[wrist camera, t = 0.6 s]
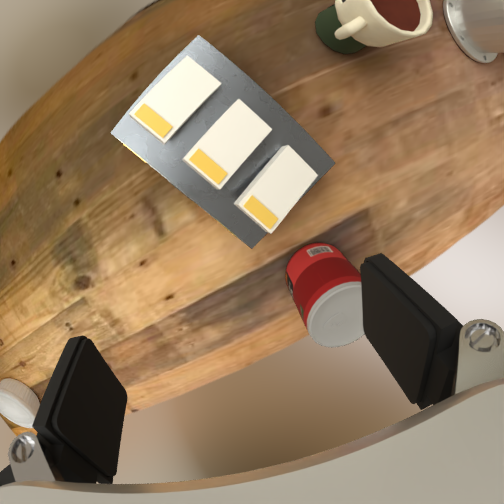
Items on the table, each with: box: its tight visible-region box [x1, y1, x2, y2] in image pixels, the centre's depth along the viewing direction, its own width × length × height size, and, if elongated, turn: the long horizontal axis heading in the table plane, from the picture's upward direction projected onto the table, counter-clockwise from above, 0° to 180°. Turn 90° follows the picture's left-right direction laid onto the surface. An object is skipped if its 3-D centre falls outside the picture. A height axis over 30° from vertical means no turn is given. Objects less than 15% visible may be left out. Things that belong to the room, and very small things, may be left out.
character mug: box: [315, 0, 433, 54], centre depth 21 cm, size 11×7×13 cm, turn 133°
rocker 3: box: [234, 145, 318, 234], centre depth 27 cm, size 7×4×2 cm, turn 136°
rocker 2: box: [182, 99, 272, 189], centre depth 25 cm, size 7×4×2 cm, turn 136°
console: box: [111, 35, 335, 249], centre depth 29 cm, size 12×18×6 cm
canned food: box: [285, 243, 365, 347], centre depth 34 cm, size 8×8×11 cm
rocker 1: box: [129, 56, 222, 145], centre depth 23 cm, size 7×4×2 cm, turn 136°
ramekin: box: [0, 378, 40, 428], centre depth 41 cm, size 11×11×5 cm
